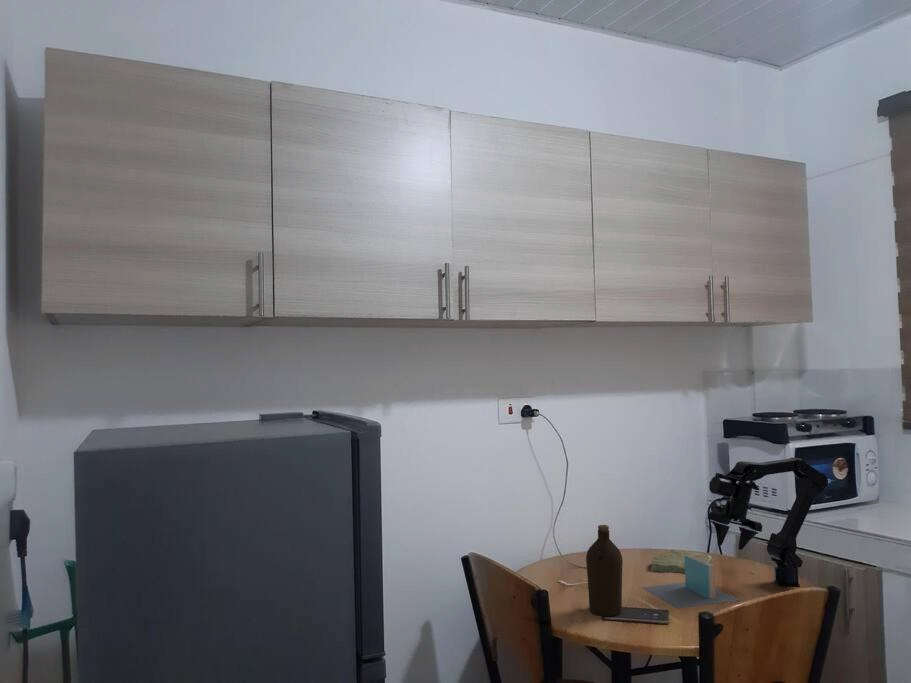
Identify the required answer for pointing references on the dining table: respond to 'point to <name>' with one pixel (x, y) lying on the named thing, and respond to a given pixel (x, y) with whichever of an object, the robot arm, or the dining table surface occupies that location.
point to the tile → (700, 576)
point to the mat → (686, 595)
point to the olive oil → (604, 575)
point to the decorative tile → (675, 561)
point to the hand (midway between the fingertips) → (729, 547)
